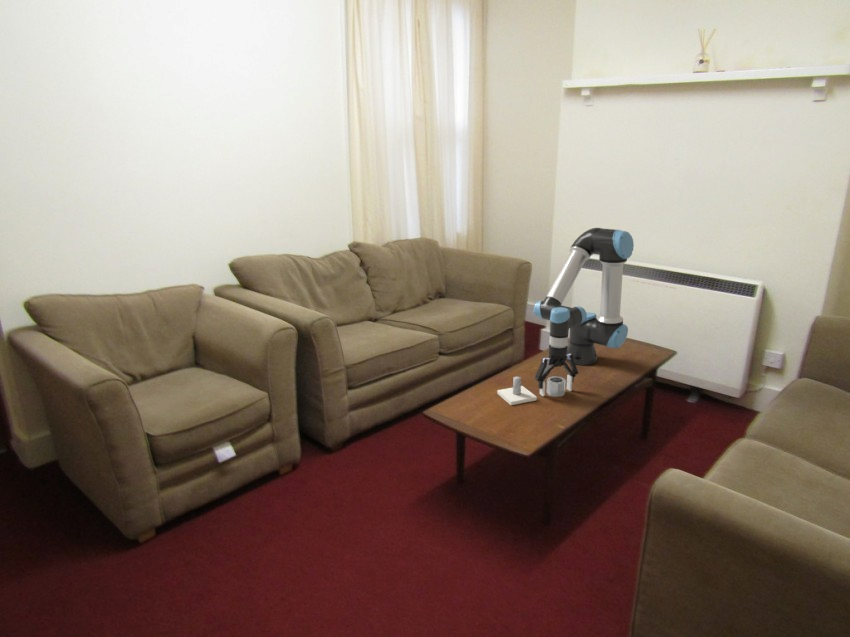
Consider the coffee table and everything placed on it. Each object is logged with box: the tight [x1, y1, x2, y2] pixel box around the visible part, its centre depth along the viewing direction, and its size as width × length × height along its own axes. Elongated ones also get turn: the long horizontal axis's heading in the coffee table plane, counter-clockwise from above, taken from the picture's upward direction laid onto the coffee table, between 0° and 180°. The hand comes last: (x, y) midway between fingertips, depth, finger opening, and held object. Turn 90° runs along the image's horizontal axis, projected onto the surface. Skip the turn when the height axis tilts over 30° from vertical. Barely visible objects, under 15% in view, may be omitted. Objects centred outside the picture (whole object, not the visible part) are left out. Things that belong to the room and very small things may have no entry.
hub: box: [545, 375, 567, 398], centre depth 238 cm, size 7×7×6 cm
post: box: [496, 376, 538, 406], centre depth 235 cm, size 12×12×8 cm
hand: (555, 392), depth 239 cm, fingers open, 12 cm apart
